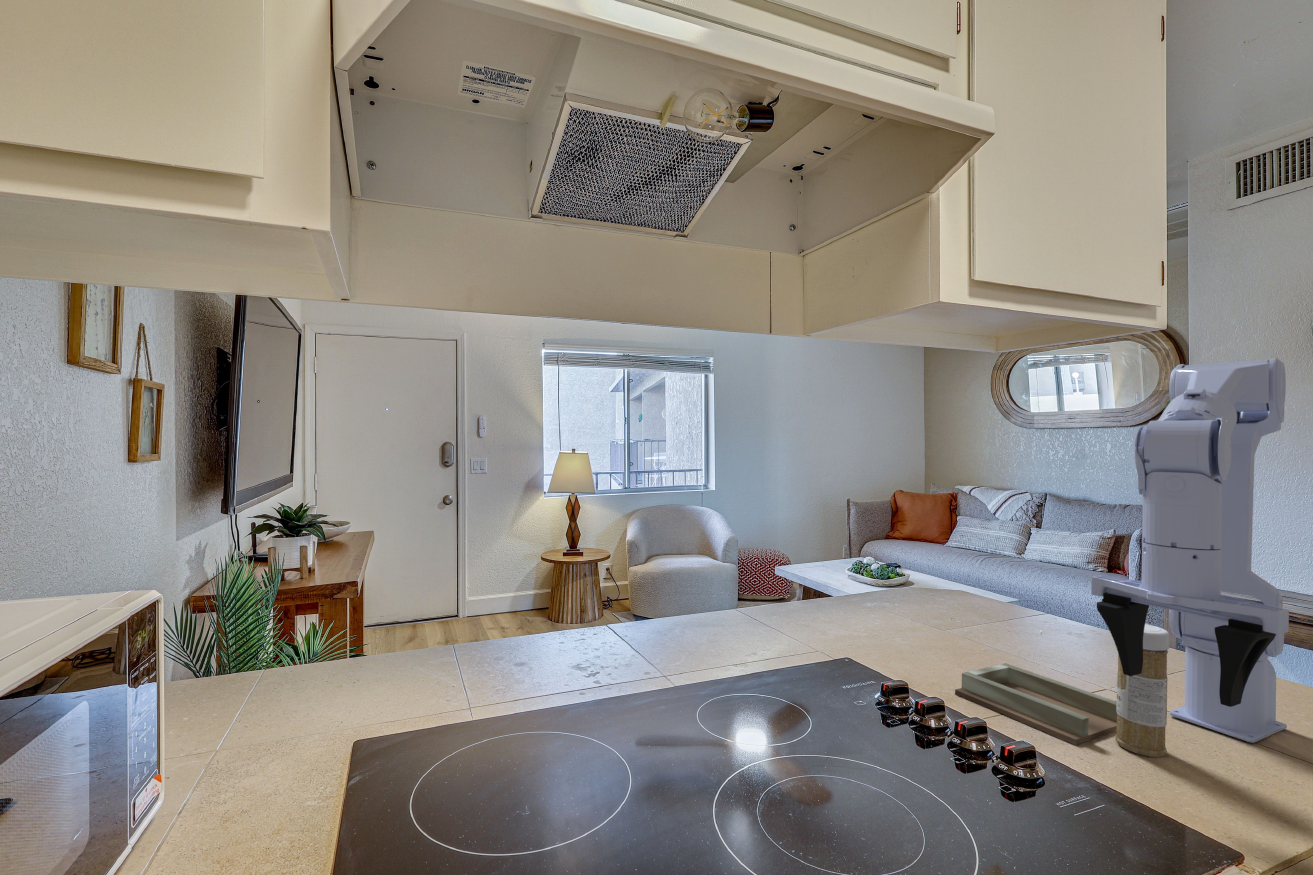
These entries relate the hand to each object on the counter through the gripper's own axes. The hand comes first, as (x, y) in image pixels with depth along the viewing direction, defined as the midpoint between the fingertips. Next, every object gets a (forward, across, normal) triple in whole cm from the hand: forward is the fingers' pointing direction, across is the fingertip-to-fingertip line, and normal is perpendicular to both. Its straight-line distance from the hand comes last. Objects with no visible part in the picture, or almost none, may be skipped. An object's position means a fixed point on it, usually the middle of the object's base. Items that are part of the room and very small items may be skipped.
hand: (1178, 687), depth 58 cm
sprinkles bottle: (+10, -7, +8) cm, 15 cm away
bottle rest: (+10, -18, +8) cm, 22 cm away
